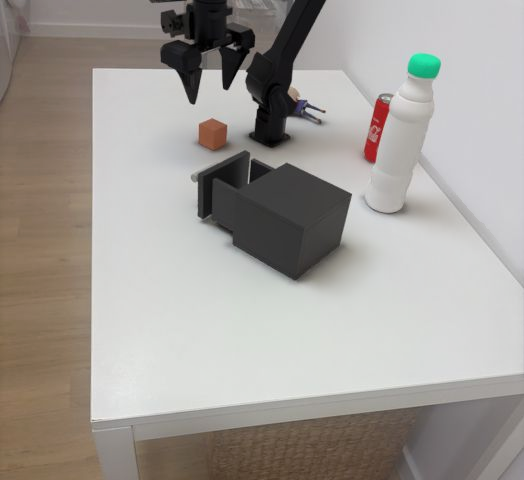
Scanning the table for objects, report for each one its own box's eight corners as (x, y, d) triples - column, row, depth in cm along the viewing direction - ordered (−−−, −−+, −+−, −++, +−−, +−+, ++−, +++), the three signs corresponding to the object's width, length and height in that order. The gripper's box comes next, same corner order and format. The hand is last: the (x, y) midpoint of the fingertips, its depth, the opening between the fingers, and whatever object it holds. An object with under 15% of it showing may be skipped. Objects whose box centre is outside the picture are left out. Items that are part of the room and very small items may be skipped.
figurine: (330, 104, 116) (274, 79, 120) (323, 100, 112) (266, 75, 117) (318, 131, 118) (264, 105, 123) (312, 127, 115) (256, 101, 119)
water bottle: (404, 199, 99) (452, 54, 80) (399, 218, 94) (448, 69, 76) (368, 189, 100) (406, 44, 81) (360, 208, 95) (399, 59, 77)
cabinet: (232, 244, 84) (235, 190, 77) (279, 213, 92) (286, 162, 84) (294, 280, 80) (304, 227, 73) (339, 245, 87) (352, 193, 80)
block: (212, 137, 108) (212, 117, 105) (226, 144, 107) (227, 124, 104) (198, 143, 106) (198, 123, 103) (213, 150, 104) (213, 131, 101)
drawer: (179, 206, 89) (178, 163, 83) (224, 182, 95) (226, 140, 89) (250, 247, 83) (254, 203, 77) (293, 218, 89) (300, 176, 84)
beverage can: (387, 166, 107) (404, 106, 98) (361, 161, 107) (376, 101, 98) (388, 154, 110) (404, 95, 101) (363, 149, 110) (377, 90, 102)
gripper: (210, -23, 94) (210, 70, 105) (132, -5, 83) (141, 96, 95) (260, -7, 90) (253, 88, 101) (184, 14, 79) (186, 117, 91)
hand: (209, 96), depth 97 cm, fingers open, 9 cm apart
